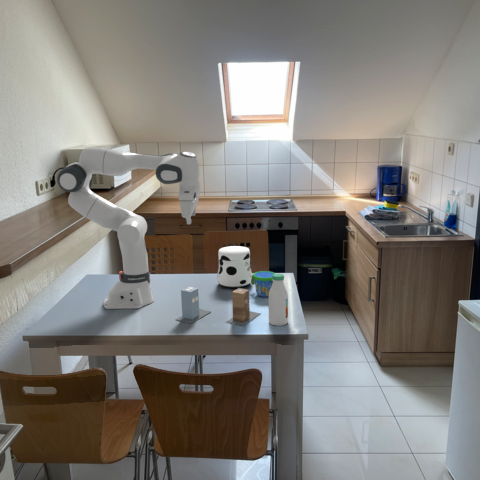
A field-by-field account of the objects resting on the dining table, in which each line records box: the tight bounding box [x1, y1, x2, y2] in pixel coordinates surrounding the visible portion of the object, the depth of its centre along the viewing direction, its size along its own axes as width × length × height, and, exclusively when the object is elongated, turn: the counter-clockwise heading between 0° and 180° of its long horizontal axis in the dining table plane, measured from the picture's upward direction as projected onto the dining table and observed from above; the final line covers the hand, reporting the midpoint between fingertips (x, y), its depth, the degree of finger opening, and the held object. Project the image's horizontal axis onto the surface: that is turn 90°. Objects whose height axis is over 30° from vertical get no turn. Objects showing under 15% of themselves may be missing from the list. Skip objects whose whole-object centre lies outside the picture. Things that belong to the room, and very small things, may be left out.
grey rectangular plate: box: [225, 310, 261, 327], centre depth 195 cm, size 14×8×1 cm, turn 148°
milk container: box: [216, 245, 253, 289], centre depth 234 cm, size 17×17×18 cm
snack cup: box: [250, 270, 276, 298], centre depth 220 cm, size 16×10×10 cm
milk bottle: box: [268, 273, 289, 327], centre depth 188 cm, size 8×8×20 cm
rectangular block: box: [180, 286, 200, 320], centre depth 195 cm, size 5×5×12 cm
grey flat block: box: [175, 308, 212, 325], centre depth 198 cm, size 14×8×1 cm, turn 148°
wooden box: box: [231, 287, 251, 322], centre depth 192 cm, size 5×5×12 cm
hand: (191, 219), depth 210 cm, fingers open, 8 cm apart
